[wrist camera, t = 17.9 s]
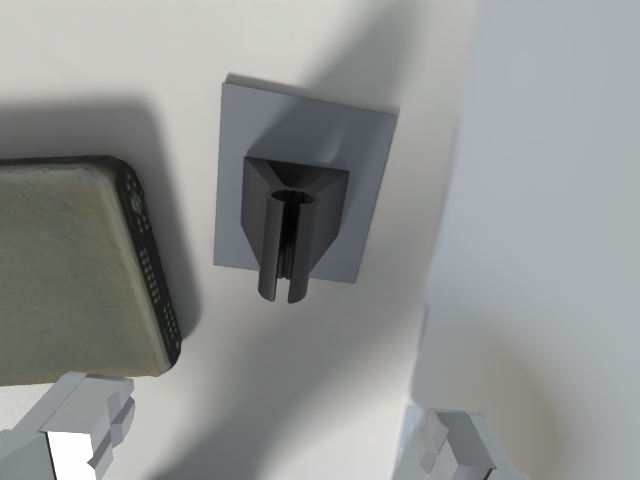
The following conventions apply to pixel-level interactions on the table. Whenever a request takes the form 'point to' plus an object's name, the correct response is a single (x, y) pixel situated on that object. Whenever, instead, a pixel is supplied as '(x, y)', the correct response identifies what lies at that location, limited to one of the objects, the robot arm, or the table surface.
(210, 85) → the table surface
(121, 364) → the network switch
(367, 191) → the rubber mat
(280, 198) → the black slotted holder
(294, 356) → the table surface
